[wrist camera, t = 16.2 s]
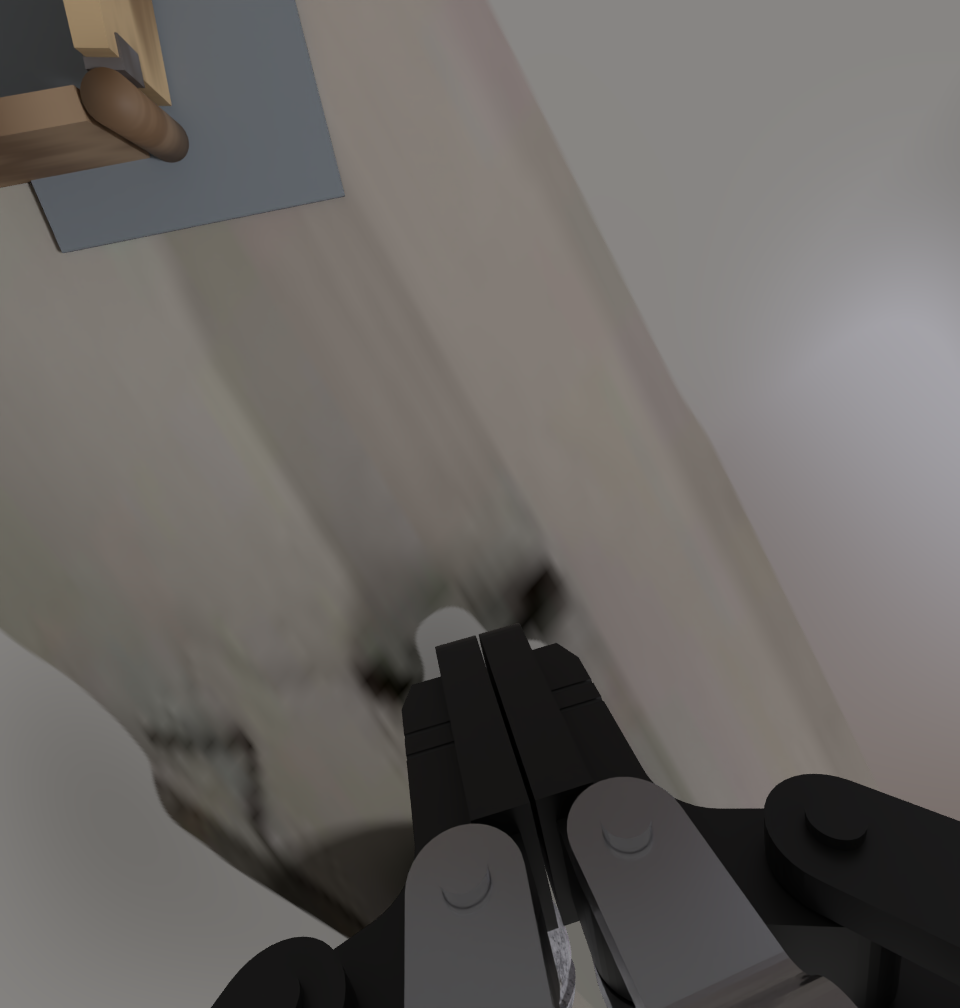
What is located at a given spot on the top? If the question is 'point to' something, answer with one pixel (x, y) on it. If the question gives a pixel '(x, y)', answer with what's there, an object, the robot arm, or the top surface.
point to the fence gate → (121, 42)
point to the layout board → (187, 120)
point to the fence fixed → (83, 129)
